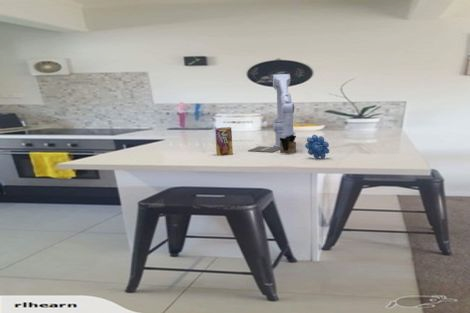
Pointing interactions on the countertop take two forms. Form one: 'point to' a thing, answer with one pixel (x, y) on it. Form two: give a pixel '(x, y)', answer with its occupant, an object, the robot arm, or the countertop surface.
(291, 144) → the walnut block
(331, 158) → the countertop surface
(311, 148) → the blue knobbed wheel
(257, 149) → the mat
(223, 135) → the candy box
